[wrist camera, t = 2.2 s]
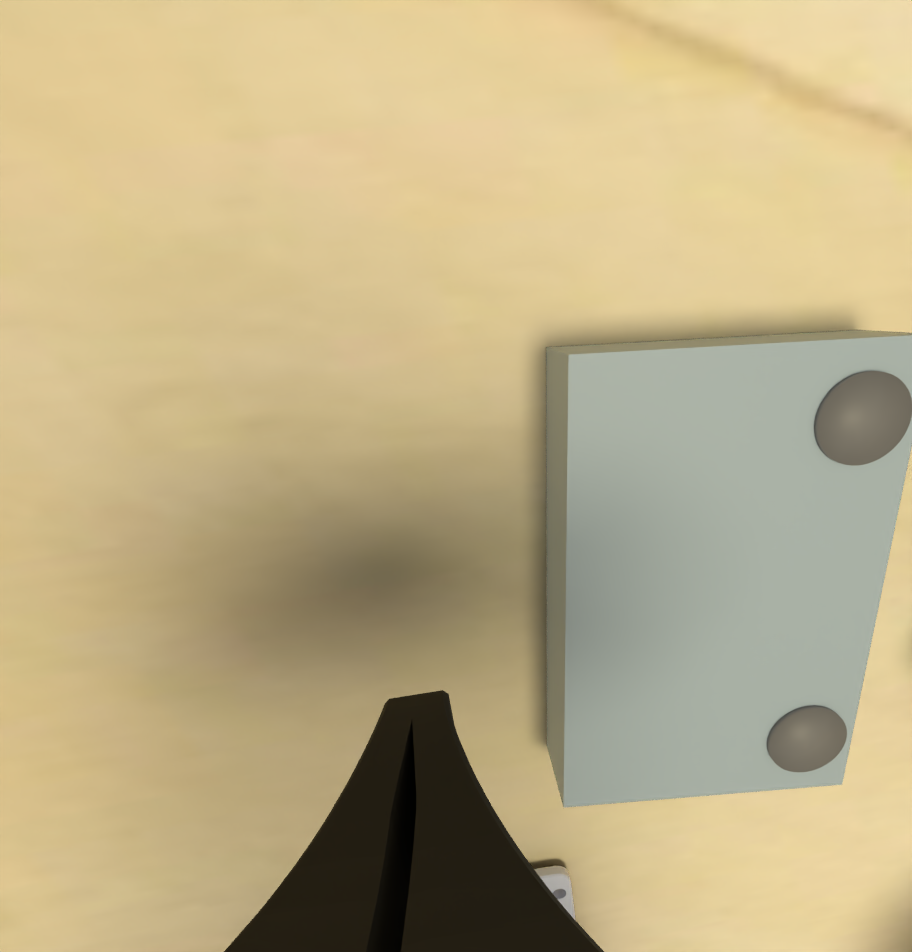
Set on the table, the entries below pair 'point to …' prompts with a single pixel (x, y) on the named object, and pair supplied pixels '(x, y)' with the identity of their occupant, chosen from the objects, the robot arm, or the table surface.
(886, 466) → the door
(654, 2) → the table surface
